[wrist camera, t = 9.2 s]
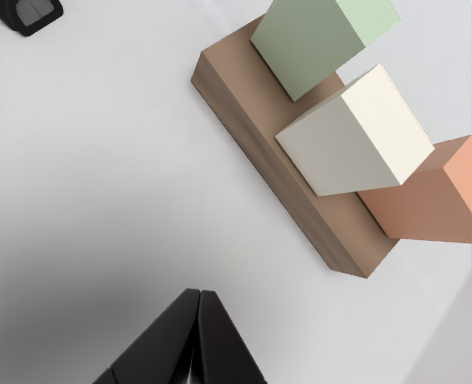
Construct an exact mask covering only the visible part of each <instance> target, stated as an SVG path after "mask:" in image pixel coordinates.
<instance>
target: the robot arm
mask: <svg viewBox="0 0 472 384" xmlns="http://www.w3.org/2000/svg"><path fill="white" fill-rule="evenodd" d="M199 299H200V300H199ZM192 353H193V354H192ZM191 361H192V362H191ZM190 368H191V372H190ZM189 374H190V384H268V383H267V381H266V380H264V376H263V375H262V373H261V371H260V369H259V368H258V366H257V364H256V362H255V361H254V359H253V357H252V355H251V354H250V352H249V350H248V348H247V347H246V345H245V343H244V341H243V339H242V338H241V336H240V334H239V332H238V331H237V329H236V327H235V325H234V324H233V322H232V320H231V318H230V317H229V315H228V313H227V311H226V310H225V308H224V306H223V304H222V303H221V301H220V299H219V297H218V296H217V294H216V292H215V291H209V290H202V291H201V293H200V290H198V289H190V288H187V289H185V290H184V291H183V292H182V293H181V294H180V295H179V296H178V297H177V298H176V299H175V300H174V301H173V302H172V304H171V305H170V306H169V307H168V308H167V309H166V310H165V311H164V312H163V313H162V314H161V315H160V316H159V317H158V318H157V319H156V320H155V321H154V322H153V323H152V324H151V325H150V326H149V327H148V328H147V329H146V330H145V331H144V332H143V333H142V334H141V335H140V336H139V337H138V338H137V339H136V340H135V341H134V342H133V343H132V344H131V345H130V346H129V347H128V348H127V349H126V350H125V351H124V352H123V353H122V354H121V355H120V356H119V357H118V358H117V359H116V360H115V361H114V362H113V363H112V364H111V366H110V368H107V369H106V370H105V371H104V372H103V373H102V374H101V375H100V376H99V378H98V379H97V380H96V381H94V382H93V383H92V384H187V383H188V378H189Z"/></svg>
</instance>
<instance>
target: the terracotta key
mask: <svg viewBox="0 0 472 384" xmlns="http://www.w3.org/2000/svg"><path fill="white" fill-rule="evenodd" d="M433 147H434V148H435V149H434V150H433V151H432V152H431V153H430V155H429V156H428V157H427V158H426V159H425V160H424V161H423V162H422V163H421V164H420V165H419V166H418V168H417V169H416V170H415V171H414V172H413V173H412V174H411V175H410V176H409V177H408V178H407V179H406V181H405V182H404V183H403V184H402V185H400V186H392V187H385V188H378V189H370V190H363V191H357V193H358V194H359V196H360V197H361V198H362V200H363V201H364V203H365V204H366V206H367V207H368V208H369V210H370V211H371V213H372V214H373V216H374V217H375V219H376V220H377V221H378V223H379V224H380V226H381V227H382V229H383V230H384V231H385V233H386V234H387V236H388V237H389V238H399V239H413V240H428V241H442V242H457V243H471V244H472V135H468V136H464V137H460V138H457V139H453V140H449V141H445V142H441V143H437V144H433Z"/></svg>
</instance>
